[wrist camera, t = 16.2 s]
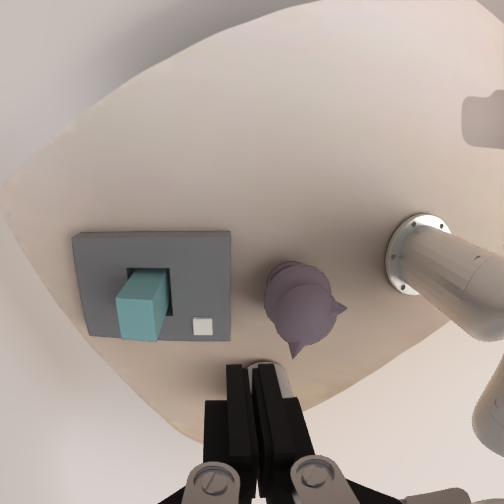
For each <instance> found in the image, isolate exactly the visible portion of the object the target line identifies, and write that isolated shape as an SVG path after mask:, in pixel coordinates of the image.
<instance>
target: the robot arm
mask: <svg viewBox="0 0 504 504" xmlns="http://www.w3.org/2000/svg"><path fill="white" fill-rule="evenodd" d="M385 266H386V273H387V276H388V279H389V280H390V282H391V284H392V285H393V286H394V287H395V288H396V289H397V290H398V291H400V292H401V293H403V294H406V295H411V296H413V295H422V296H423V297H424V298H425V299H427V300H428V301H429V302H430V303H432V304H433V305H434V306H435V307H436V308H438V309H439V310H440V311H441V312H443V313H444V314H445V315H446V316H447V317H449V318H450V319H451V320H452V321H453V322H455V323H456V324H457V325H458V326H459V327H461V328H462V329H463V330H464V331H465V332H467V333H468V334H469V335H470V336H472V337H473V338H475V339H477V340H479V341H483V342H493V341H498V340H502V339H504V258H503V257H501V256H499V255H497V254H495V253H492V252H490V251H488V250H486V249H484V248H482V247H480V246H477V245H475V244H473V243H471V242H469V241H466V240H464V239H462V238H459V237H457V236H455V235H453V234H451V233H450V231H449V228H448V227H447V225H446V224H445V222H443V221H442V220H441V219H440V218H438V217H436V216H434V215H431V214H417V215H415V216H412V217H410V218H409V219H407V220H406V221H404V222H403V223H402V224H401V225H400V226H399V227H398V229H397V230H396V231H395V233H394V234H393V236H392V238H391V240H390V242H389V245H388V248H387V252H386V260H385ZM226 380H227V400H205V417H204V448H203V463H202V464H200V465H198V466H196V467H195V468H194V469H193V470H192V471H191V472H190V474H189V476H188V479H187V483H186V486H184V487H183V488H182V489H180V490H178V491H177V492H175V493H174V494H173V495H171V496H169V497H168V498H166V499H165V500H163V501H161V502H160V503H158V504H251V501H252V498H255V494H256V484H257V481H258V488H259V496H260V498H266V502H267V504H504V499H487V500H482V501H478V502H474V503H471V501H470V498H469V496H468V494H467V492H465V491H464V490H463V489H460V488H450V489H445V490H441V491H436V492H431V493H427V494H420V495H415V496H408V497H406V498H405V499H401V500H397V499H395V498H393V497H390V496H388V495H385V494H382V493H380V492H377V491H374V490H372V489H370V488H367V487H364V486H362V485H360V484H357V483H355V482H353V481H350V480H348V479H346V478H345V477H344V475H343V474H342V472H341V470H340V469H339V467H338V465H337V464H336V463H335V462H334V461H332V460H331V459H330V458H328V457H324V456H321V455H315V453H314V449H313V446H312V443H311V439H310V436H309V433H308V429H307V426H306V423H305V420H304V416H303V413H302V410H301V406H300V403H299V400H298V398H297V397H289V398H282V394H281V390H280V386H279V382H278V378H277V374H276V370H275V366H274V363H268V364H258V368H252V385H251V390H250V382H249V374H248V368H242V365H241V364H235V365H226ZM472 427H473V430H474V433H475V434H476V436H477V438H478V439H479V440H480V441H481V443H482V444H484V445H485V446H486V447H487V448H489V449H490V450H492V451H493V452H495V453H497V454H498V455H500V456H503V457H504V354H503V357H502V359H501V361H500V363H499V365H498V367H497V369H496V371H495V373H494V375H493V376H492V378H491V380H490V381H489V383H488V385H487V386H486V388H485V390H484V392H483V393H482V395H481V397H480V399H479V401H478V402H477V404H476V406H475V409H474V412H473V416H472Z"/></svg>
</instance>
